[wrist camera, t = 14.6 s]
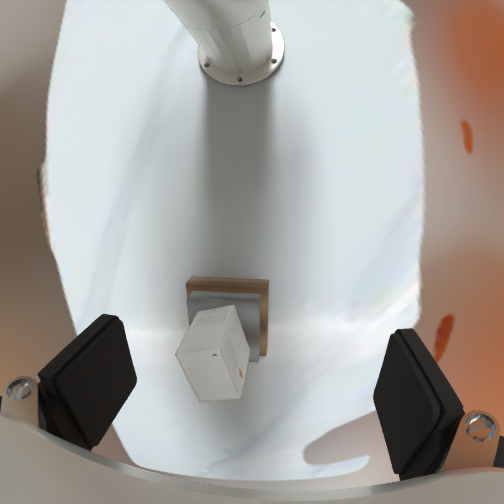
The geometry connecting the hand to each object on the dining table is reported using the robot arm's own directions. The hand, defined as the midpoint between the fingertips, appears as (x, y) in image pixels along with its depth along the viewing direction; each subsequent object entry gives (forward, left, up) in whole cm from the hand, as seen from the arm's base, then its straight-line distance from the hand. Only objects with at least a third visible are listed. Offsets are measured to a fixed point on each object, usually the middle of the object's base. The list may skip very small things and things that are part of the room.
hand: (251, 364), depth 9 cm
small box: (+16, -7, -28) cm, 32 cm away
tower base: (+16, -7, -33) cm, 38 cm away
